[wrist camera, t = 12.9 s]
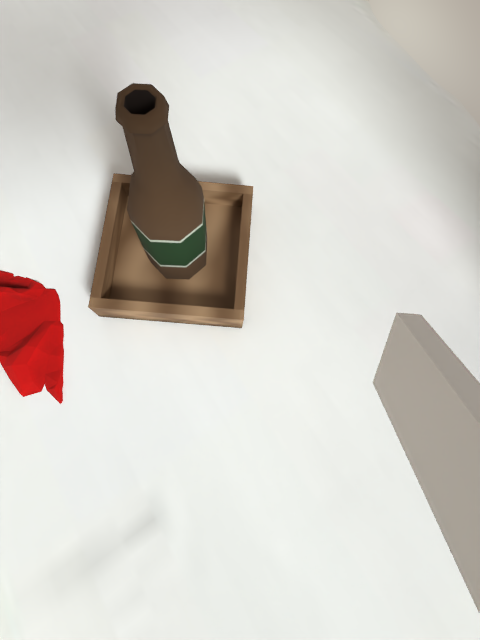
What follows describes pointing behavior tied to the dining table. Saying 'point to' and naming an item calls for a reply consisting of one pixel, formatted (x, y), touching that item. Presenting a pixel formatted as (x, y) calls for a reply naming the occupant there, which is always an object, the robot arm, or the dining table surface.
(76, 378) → the dining table surface
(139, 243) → the box
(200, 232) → the beer bottle
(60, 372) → the cloth
